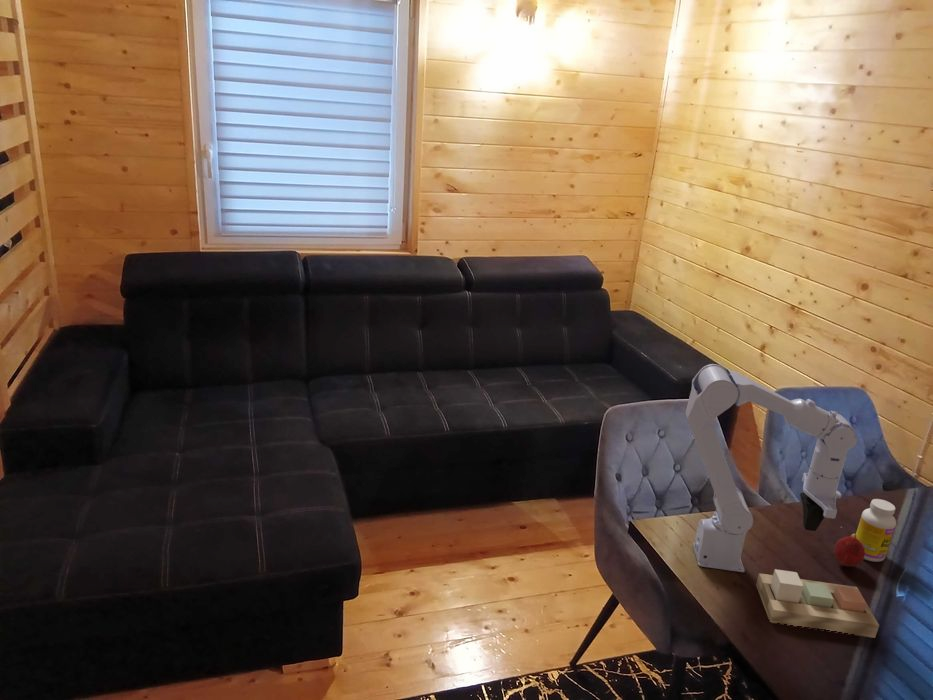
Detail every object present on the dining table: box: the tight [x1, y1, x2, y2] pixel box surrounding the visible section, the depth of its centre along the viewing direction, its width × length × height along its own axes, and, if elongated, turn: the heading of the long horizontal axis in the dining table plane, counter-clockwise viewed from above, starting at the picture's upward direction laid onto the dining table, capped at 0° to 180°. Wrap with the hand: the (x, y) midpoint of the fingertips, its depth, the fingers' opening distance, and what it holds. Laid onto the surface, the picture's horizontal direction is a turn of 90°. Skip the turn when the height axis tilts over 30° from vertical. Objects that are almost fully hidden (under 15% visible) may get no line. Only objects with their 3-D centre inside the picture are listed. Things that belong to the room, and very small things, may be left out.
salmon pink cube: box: [833, 586, 868, 613], centre depth 135 cm, size 4×4×4 cm
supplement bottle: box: [855, 498, 897, 563], centre depth 153 cm, size 7×7×13 cm
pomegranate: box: [833, 533, 865, 567], centre depth 149 cm, size 6×6×8 cm
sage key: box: [802, 582, 834, 608], centre depth 135 cm, size 4×4×4 cm
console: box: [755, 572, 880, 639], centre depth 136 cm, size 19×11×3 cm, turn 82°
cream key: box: [770, 568, 803, 603], centre depth 135 cm, size 4×4×4 cm
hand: (809, 528), depth 145 cm, fingers closed
